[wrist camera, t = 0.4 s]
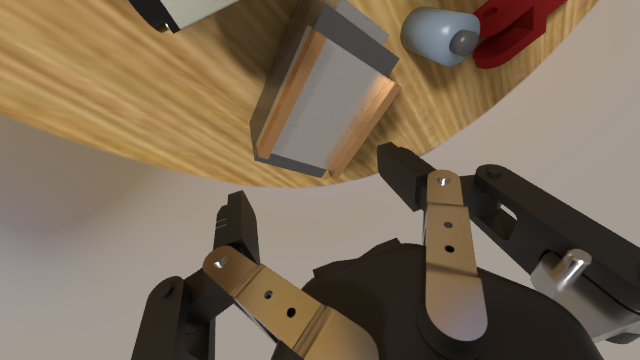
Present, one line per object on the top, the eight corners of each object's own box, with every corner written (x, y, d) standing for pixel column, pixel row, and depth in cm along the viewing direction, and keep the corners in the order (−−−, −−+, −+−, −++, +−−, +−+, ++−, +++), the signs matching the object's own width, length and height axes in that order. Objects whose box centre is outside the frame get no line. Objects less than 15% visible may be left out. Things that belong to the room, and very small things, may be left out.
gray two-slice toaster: (298, -21, 25) (338, -19, 16) (365, 30, 30) (425, 54, 21) (245, 117, 33) (251, 171, 24) (305, 138, 38) (329, 190, 29)
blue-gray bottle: (419, -3, 29) (476, 4, 23) (441, 20, 32) (498, 32, 25) (393, 39, 32) (437, 56, 25) (416, 57, 35) (462, 77, 28)
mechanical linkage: (467, 63, 38) (492, 72, 34) (459, 23, 33) (487, 29, 30) (565, -15, 34) (605, -14, 31) (572, -73, 29) (619, -79, 26)
